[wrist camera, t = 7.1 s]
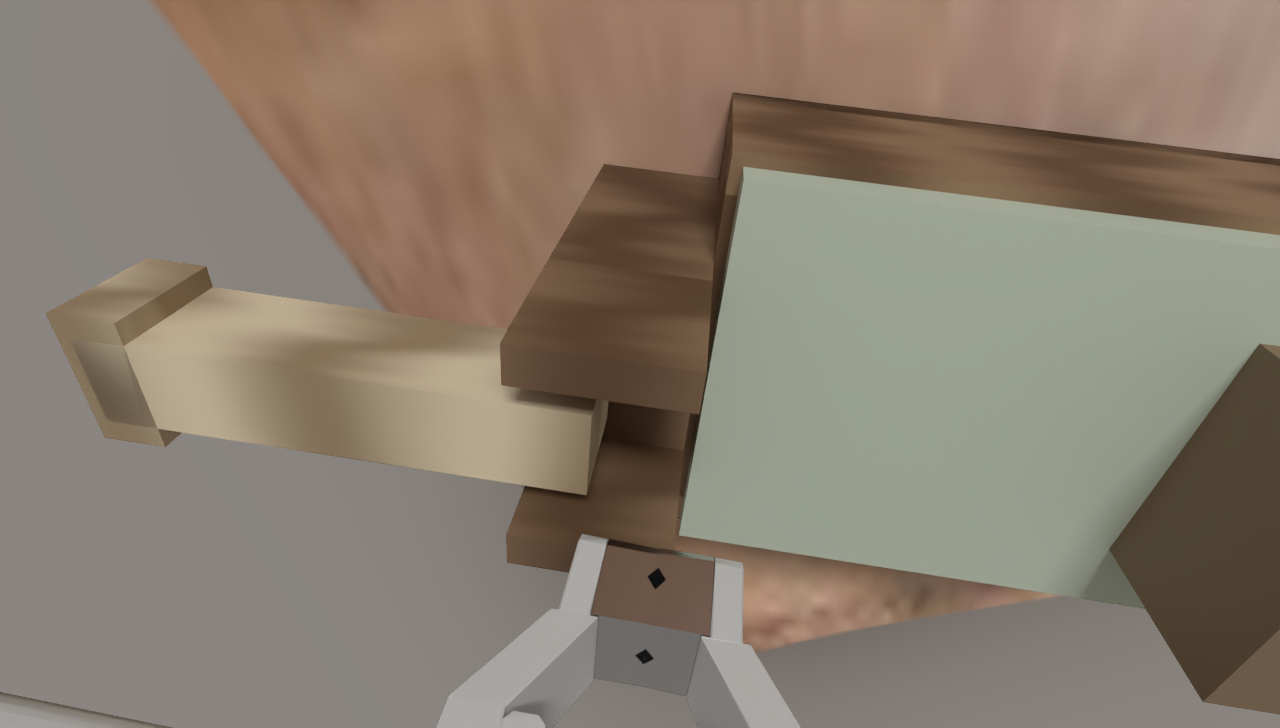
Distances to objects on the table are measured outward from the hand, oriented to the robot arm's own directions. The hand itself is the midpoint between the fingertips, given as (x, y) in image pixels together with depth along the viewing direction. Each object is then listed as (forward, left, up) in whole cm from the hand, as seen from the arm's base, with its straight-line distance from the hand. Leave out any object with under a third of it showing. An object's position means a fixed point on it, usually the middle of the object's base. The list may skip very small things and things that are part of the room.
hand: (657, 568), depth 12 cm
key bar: (+8, 0, -6) cm, 10 cm away
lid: (-9, 0, -7) cm, 12 cm away
